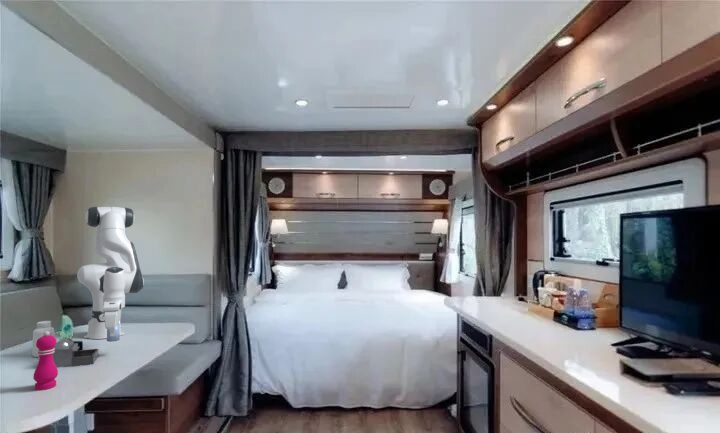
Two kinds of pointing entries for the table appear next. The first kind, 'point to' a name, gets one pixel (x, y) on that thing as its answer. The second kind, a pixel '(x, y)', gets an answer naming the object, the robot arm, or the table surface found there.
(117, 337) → the light blue bottle
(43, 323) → the pill bottle
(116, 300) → the robot arm
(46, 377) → the pepper mill
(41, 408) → the table surface
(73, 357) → the dark grey piece
